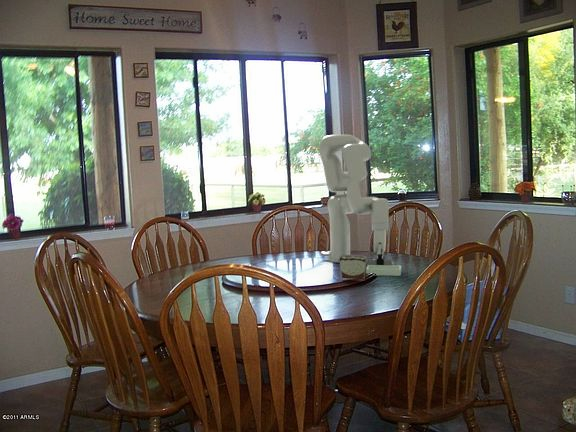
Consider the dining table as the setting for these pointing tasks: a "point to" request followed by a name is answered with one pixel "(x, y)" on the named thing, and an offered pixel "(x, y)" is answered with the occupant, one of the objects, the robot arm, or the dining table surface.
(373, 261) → the gray cylinder
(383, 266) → the sage trough
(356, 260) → the food container
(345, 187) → the robot arm
